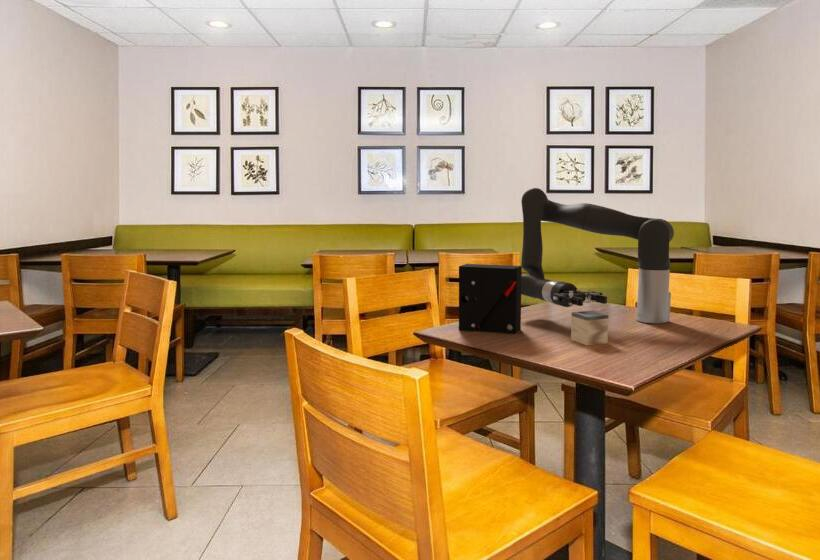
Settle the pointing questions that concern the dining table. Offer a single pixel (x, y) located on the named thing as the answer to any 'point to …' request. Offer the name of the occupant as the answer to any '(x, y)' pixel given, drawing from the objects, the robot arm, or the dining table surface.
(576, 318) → the birch block
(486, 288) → the electrical component
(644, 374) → the dining table surface
